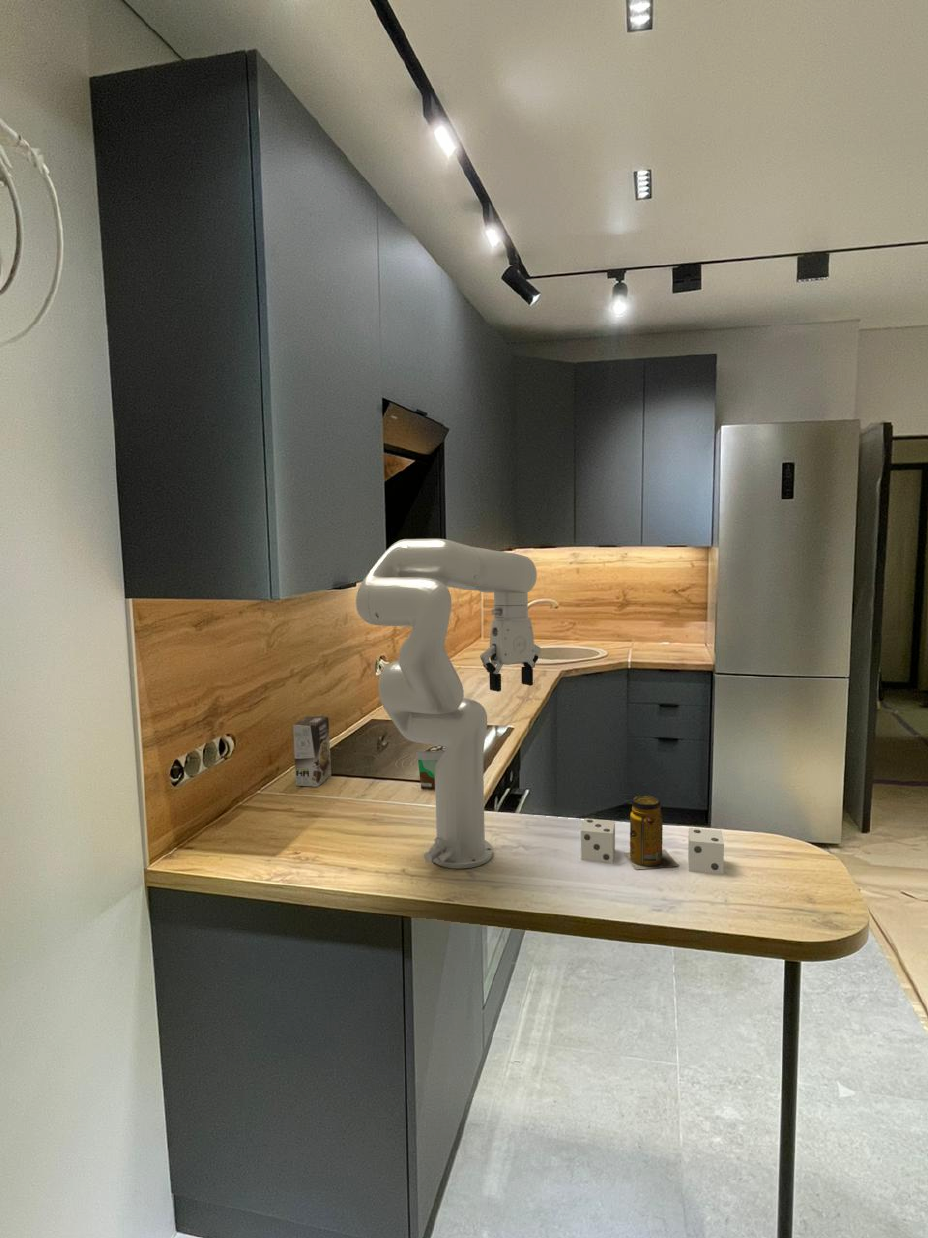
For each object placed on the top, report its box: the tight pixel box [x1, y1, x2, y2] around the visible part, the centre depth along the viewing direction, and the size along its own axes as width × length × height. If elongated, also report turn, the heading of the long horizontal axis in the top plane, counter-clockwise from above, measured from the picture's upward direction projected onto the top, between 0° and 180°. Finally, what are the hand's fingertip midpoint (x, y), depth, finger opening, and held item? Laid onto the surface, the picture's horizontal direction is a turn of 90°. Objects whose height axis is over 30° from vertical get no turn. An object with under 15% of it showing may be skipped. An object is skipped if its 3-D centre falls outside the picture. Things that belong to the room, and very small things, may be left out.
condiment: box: [623, 795, 680, 870], centre depth 138 cm, size 7×8×12 cm
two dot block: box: [687, 827, 725, 876], centre depth 135 cm, size 6×6×6 cm
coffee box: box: [292, 715, 332, 788], centre depth 187 cm, size 9×6×16 cm
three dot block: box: [580, 818, 616, 864], centre depth 141 cm, size 6×6×6 cm
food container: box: [415, 745, 446, 791], centre depth 181 cm, size 12×6×10 cm, turn 143°
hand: (511, 687), depth 164 cm, fingers open, 9 cm apart
